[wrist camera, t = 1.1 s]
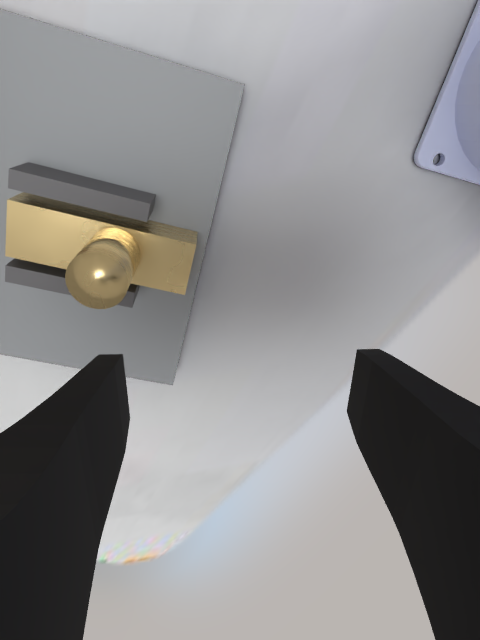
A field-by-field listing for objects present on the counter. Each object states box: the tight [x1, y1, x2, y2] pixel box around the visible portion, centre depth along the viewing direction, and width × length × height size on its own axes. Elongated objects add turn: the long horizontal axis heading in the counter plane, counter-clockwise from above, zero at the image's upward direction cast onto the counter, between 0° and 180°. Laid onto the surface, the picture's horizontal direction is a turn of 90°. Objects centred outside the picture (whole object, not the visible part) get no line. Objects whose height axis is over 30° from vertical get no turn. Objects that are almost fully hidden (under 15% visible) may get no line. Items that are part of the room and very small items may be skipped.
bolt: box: [5, 192, 198, 309], centre depth 16 cm, size 7×2×5 cm, turn 75°
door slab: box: [0, 9, 245, 385], centre depth 18 cm, size 11×14×3 cm
